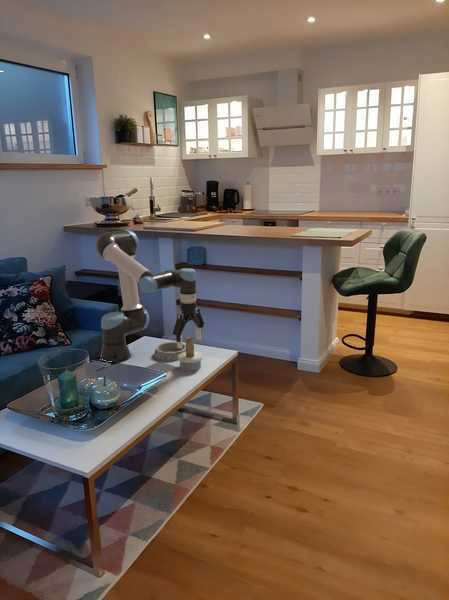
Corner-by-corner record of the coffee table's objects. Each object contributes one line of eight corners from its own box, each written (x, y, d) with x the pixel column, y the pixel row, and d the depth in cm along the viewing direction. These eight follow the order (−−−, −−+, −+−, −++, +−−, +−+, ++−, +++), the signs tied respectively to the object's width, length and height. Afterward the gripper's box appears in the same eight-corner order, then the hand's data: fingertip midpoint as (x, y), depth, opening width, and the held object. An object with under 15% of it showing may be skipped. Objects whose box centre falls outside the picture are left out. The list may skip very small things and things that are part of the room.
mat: (140, 371, 233) (140, 369, 233) (159, 362, 243) (159, 361, 243) (159, 377, 225) (159, 376, 225) (178, 368, 235) (178, 367, 235)
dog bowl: (190, 350, 260) (190, 341, 258) (184, 363, 242) (184, 353, 241) (159, 349, 262) (159, 340, 260) (151, 362, 244) (150, 352, 242)
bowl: (176, 369, 234) (175, 359, 233) (189, 363, 242) (189, 353, 240) (191, 374, 228) (191, 363, 227) (204, 367, 236) (204, 357, 234)
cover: (172, 359, 232) (171, 339, 230) (189, 352, 242) (188, 332, 239) (191, 365, 225) (190, 344, 223) (207, 357, 235) (207, 337, 232)
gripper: (176, 308, 214) (177, 353, 220) (211, 297, 233) (211, 338, 239) (164, 306, 219) (165, 349, 224) (199, 294, 238) (200, 335, 243)
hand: (189, 343), depth 232 cm, fingers open, 13 cm apart
